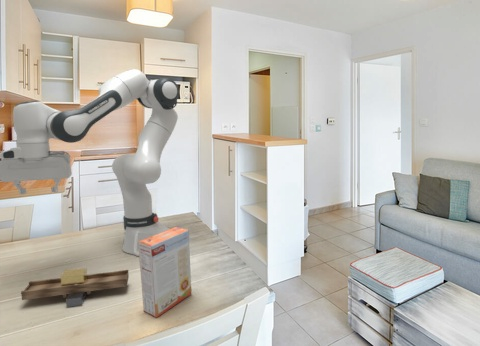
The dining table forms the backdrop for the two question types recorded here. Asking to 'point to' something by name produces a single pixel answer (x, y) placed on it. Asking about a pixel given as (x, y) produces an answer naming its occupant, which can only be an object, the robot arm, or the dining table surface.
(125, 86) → the robot arm
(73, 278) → the rider
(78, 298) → the fulcrum
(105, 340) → the dining table surface
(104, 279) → the beam
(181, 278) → the cracker box
